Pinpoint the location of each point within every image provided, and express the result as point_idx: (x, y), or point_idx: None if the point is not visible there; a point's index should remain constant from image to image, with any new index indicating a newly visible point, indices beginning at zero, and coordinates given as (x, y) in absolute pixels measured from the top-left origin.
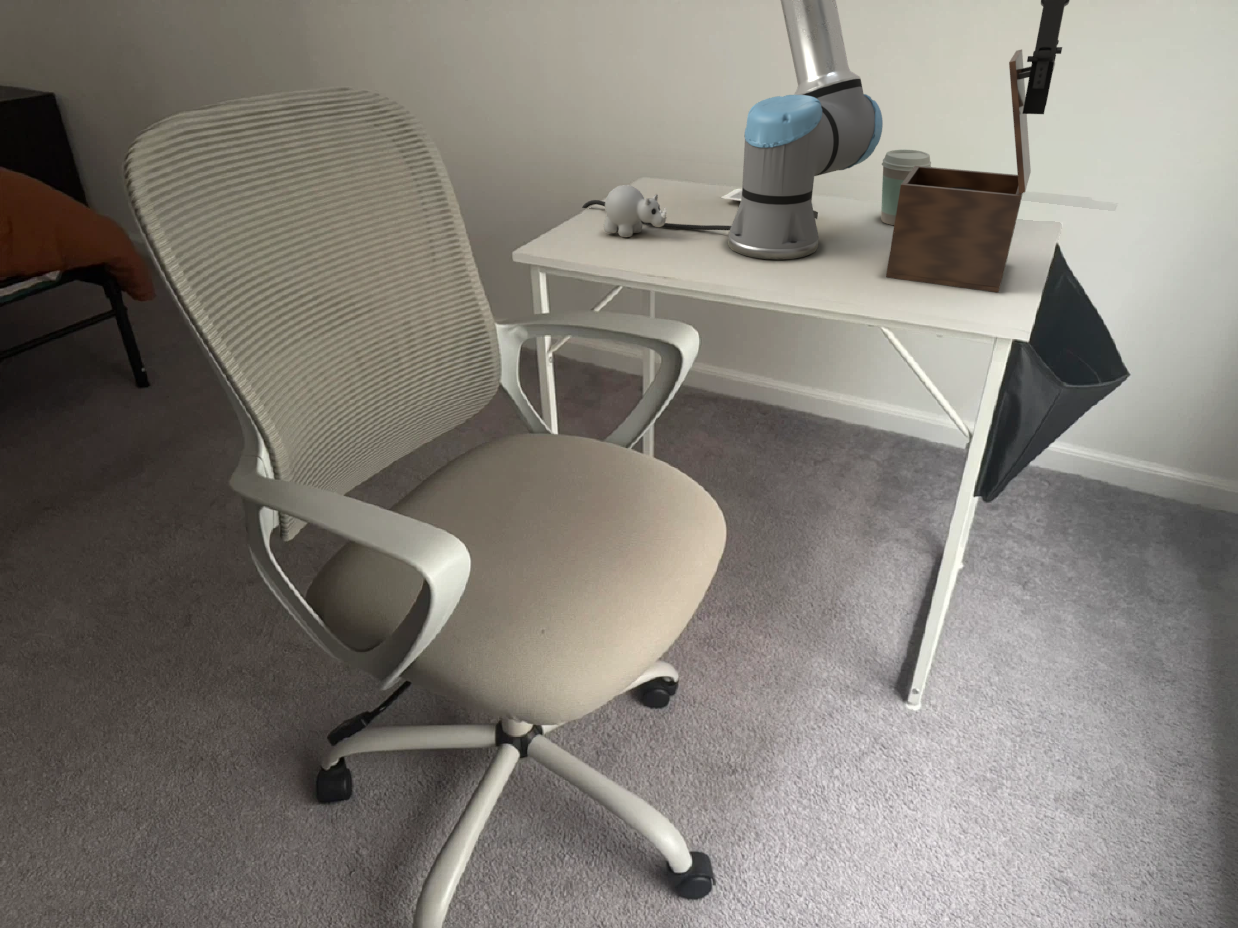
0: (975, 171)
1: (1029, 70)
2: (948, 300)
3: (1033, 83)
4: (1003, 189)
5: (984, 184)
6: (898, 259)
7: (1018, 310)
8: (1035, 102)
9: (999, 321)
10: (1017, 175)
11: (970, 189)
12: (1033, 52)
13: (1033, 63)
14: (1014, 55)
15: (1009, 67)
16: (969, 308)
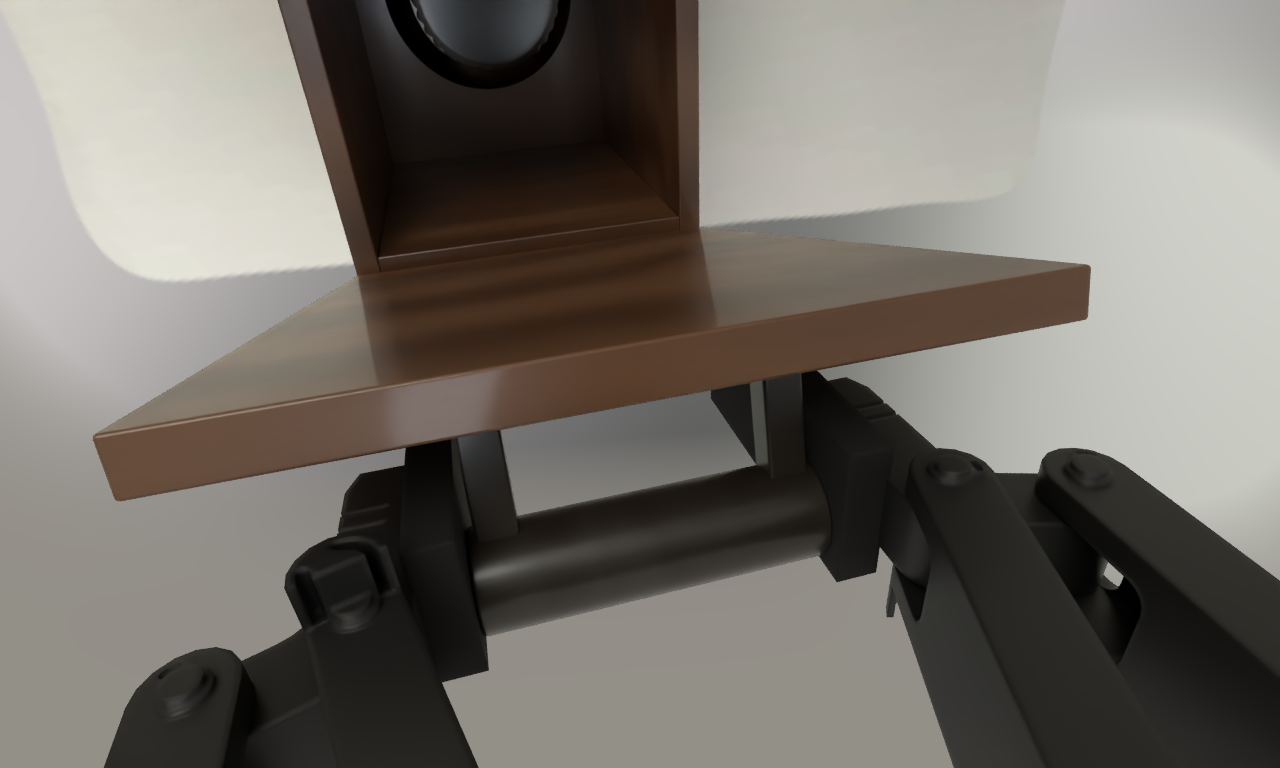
0: (688, 18)
1: (755, 392)
2: (210, 52)
3: (347, 499)
4: (660, 148)
5: (661, 69)
6: None
7: (279, 251)
8: None
9: (153, 226)
10: (685, 201)
11: (529, 30)
12: (156, 696)
13: (399, 557)
14: (693, 348)
15: (124, 417)
16: (190, 129)
